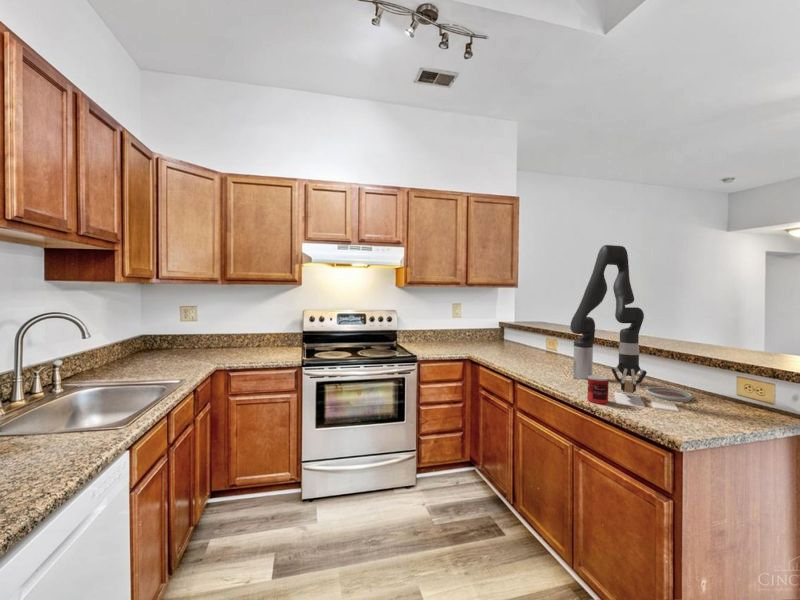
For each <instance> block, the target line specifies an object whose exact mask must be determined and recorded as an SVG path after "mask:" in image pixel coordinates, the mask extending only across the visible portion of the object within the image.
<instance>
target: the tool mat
mask: <svg viewBox="0 0 800 600" xmlns="http://www.w3.org/2000/svg"><path fill="white" fill-rule="evenodd" d="M613 395H614V399H615V402H616V404H617V405H624V406H631V407H641V408H646V406H645V404H644V401H643V400H642V398H641V395H640V396H635V395H626V394H621V392H616V391H613Z"/></svg>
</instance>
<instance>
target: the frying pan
mask: <svg viewBox="0 0 800 600" xmlns="http://www.w3.org/2000/svg"><path fill="white" fill-rule="evenodd" d="M637 385H638V386H639V387H638V388H639V389H640V388H645V392H646V393H647V395H649V396H650V397H654V398H656V399H661V400H664V401H665V400H666V401H670V402H672V401H673V402H682V403H688V402H691V401H690V400H692V399H693V397H694V396H693V394H691V393H690V392H688V391H685V390H680V389H676V388H672V387H671V388H669V387H663V386H662V387H660V386H651V385H644V384H642V382H641V383H638V384H637Z"/></svg>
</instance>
